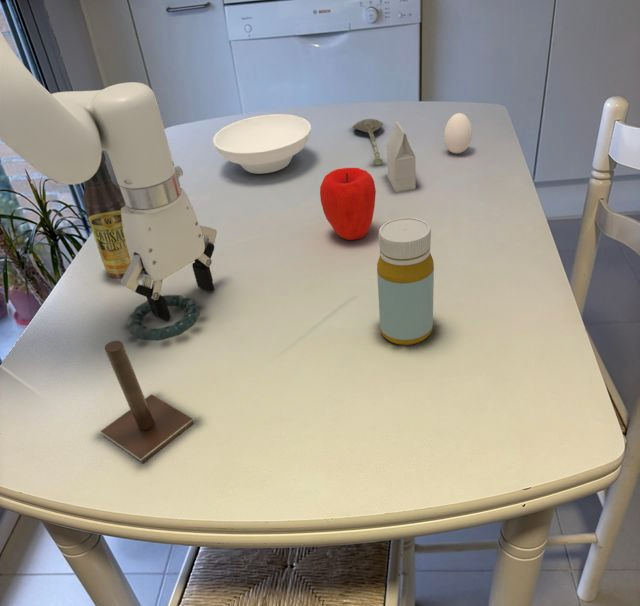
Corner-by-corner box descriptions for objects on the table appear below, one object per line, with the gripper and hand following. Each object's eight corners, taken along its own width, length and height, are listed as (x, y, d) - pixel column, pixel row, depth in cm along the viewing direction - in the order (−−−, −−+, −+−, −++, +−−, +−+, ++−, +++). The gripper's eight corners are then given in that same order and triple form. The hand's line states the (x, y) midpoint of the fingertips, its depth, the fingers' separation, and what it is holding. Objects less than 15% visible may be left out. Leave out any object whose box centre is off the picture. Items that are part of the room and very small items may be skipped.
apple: (314, 240, 108) (306, 177, 101) (347, 218, 112) (342, 156, 105) (355, 254, 103) (350, 189, 96) (388, 230, 108) (386, 166, 100)
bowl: (305, 186, 123) (300, 150, 119) (208, 189, 127) (200, 154, 122) (322, 145, 137) (318, 111, 132) (234, 149, 141) (227, 116, 136)
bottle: (370, 331, 88) (363, 230, 78) (409, 310, 91) (407, 209, 80) (403, 354, 84) (401, 250, 74) (443, 332, 86) (446, 228, 76)
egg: (448, 146, 129) (449, 107, 124) (474, 148, 127) (476, 109, 122) (439, 157, 126) (440, 118, 121) (466, 159, 124) (468, 119, 119)
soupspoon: (381, 127, 142) (352, 132, 143) (380, 110, 140) (350, 116, 141) (394, 163, 126) (361, 169, 126) (393, 146, 124) (359, 152, 124)
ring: (116, 330, 95) (112, 319, 94) (170, 296, 101) (166, 285, 99) (160, 354, 90) (156, 342, 89) (215, 316, 95) (212, 305, 94)
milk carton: (395, 192, 117) (394, 136, 110) (387, 177, 122) (385, 122, 115) (415, 189, 117) (415, 132, 110) (407, 174, 122) (406, 119, 115)
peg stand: (103, 436, 79) (62, 353, 70) (153, 400, 83) (120, 316, 74) (143, 464, 75) (105, 379, 66) (194, 424, 79) (165, 338, 70)
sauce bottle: (108, 287, 105) (61, 165, 91) (108, 268, 109) (63, 149, 95) (148, 278, 105) (107, 156, 91) (147, 260, 110) (107, 140, 96)
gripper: (182, 159, 91) (210, 269, 103) (79, 211, 82) (123, 324, 94) (218, 169, 87) (243, 282, 99) (114, 225, 78) (156, 341, 90)
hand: (185, 302), depth 96 cm, fingers open, 8 cm apart
